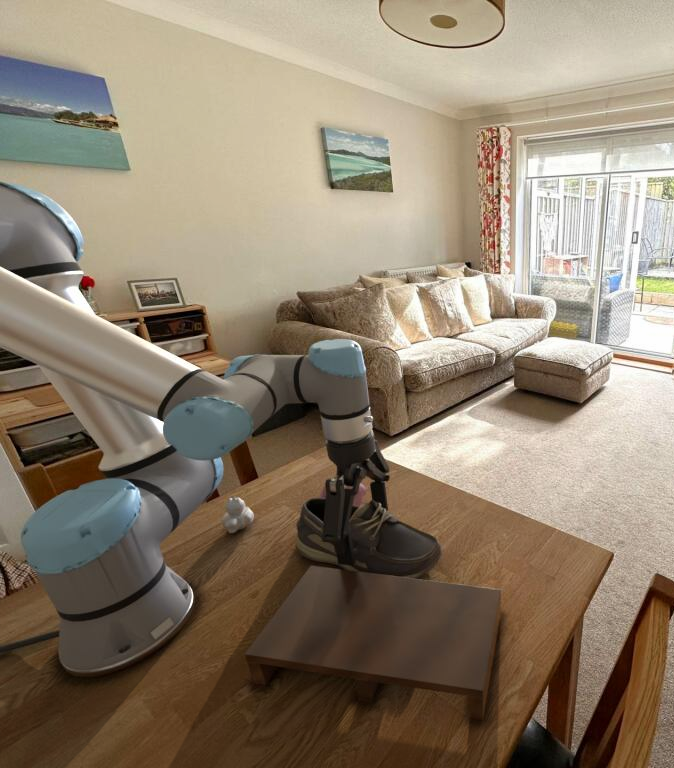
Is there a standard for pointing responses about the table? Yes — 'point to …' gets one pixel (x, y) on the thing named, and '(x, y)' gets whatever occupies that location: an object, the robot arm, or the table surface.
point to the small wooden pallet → (384, 633)
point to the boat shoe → (370, 541)
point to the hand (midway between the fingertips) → (365, 534)
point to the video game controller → (357, 498)
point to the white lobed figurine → (237, 515)
